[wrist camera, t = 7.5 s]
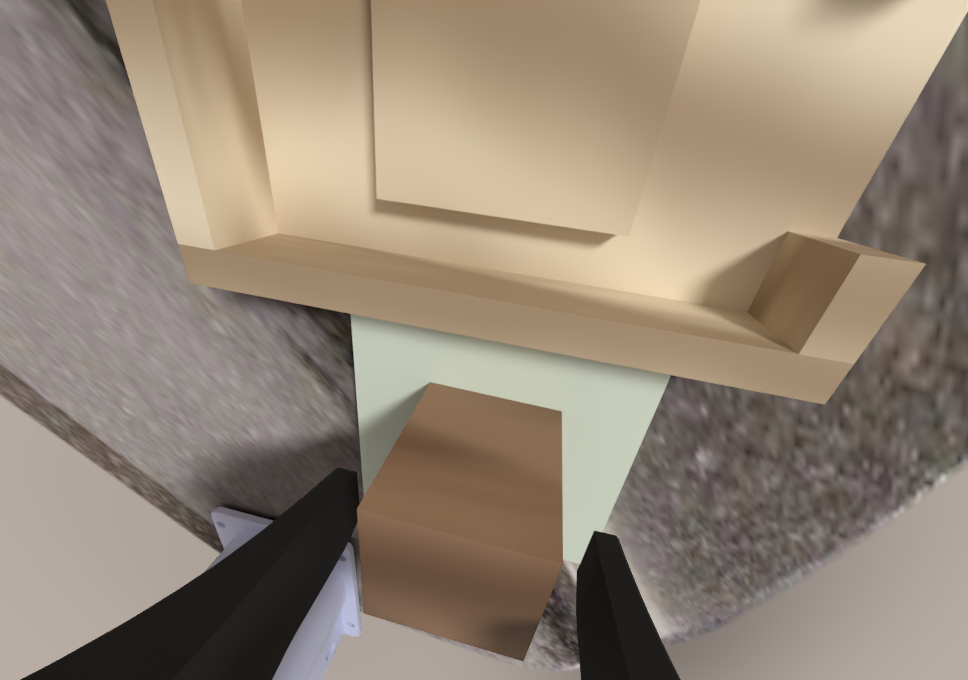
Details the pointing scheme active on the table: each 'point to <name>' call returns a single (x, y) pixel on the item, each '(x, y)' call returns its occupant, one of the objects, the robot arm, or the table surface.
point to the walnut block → (466, 521)
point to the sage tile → (519, 377)
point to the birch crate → (546, 167)
